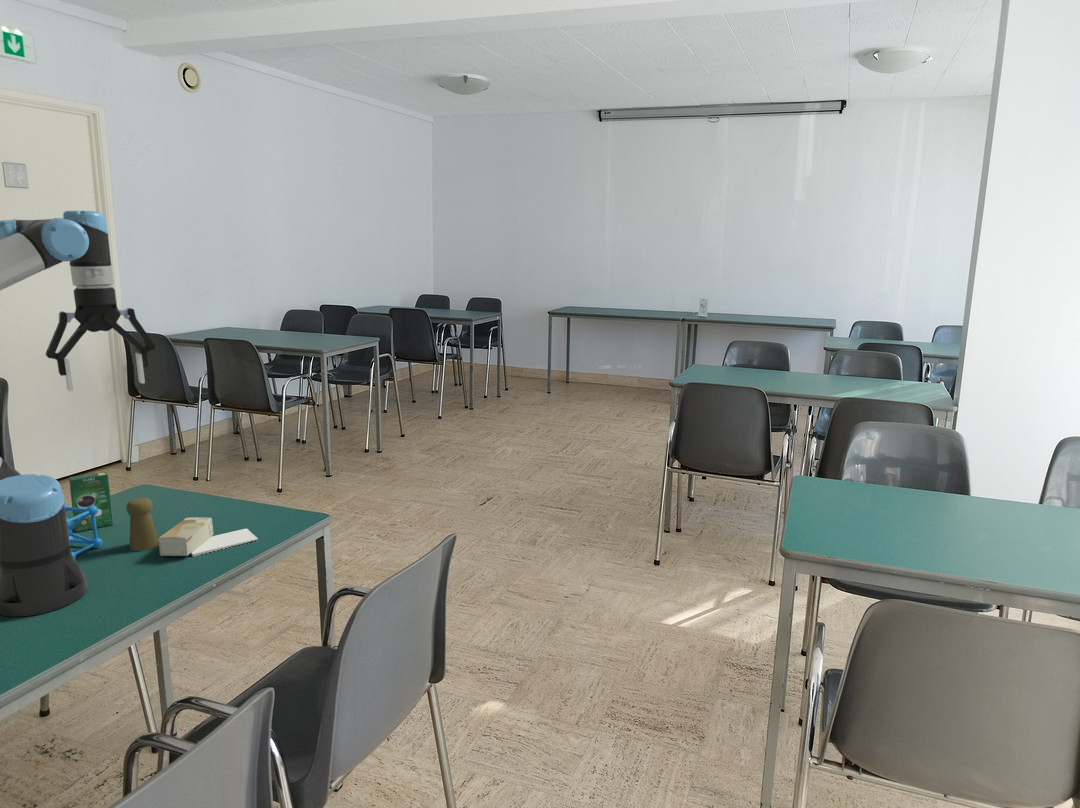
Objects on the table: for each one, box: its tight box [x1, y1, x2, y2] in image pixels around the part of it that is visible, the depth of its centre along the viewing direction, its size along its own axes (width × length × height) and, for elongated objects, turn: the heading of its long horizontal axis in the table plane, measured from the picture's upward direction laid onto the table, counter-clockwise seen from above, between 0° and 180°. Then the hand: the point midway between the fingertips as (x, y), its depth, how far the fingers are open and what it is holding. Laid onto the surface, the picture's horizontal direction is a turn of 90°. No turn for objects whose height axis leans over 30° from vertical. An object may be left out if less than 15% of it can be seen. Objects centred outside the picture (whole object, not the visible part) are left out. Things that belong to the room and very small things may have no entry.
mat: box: [189, 528, 259, 558], centre depth 172 cm, size 14×8×1 cm, turn 128°
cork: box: [126, 497, 159, 552], centre depth 170 cm, size 6×6×11 cm
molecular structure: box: [64, 502, 104, 560], centre depth 166 cm, size 10×10×10 cm
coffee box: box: [68, 471, 114, 533], centre depth 181 cm, size 8×3×13 cm, turn 129°
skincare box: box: [158, 516, 214, 557], centre depth 169 cm, size 6×4×12 cm
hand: (107, 386), depth 163 cm, fingers open, 13 cm apart
